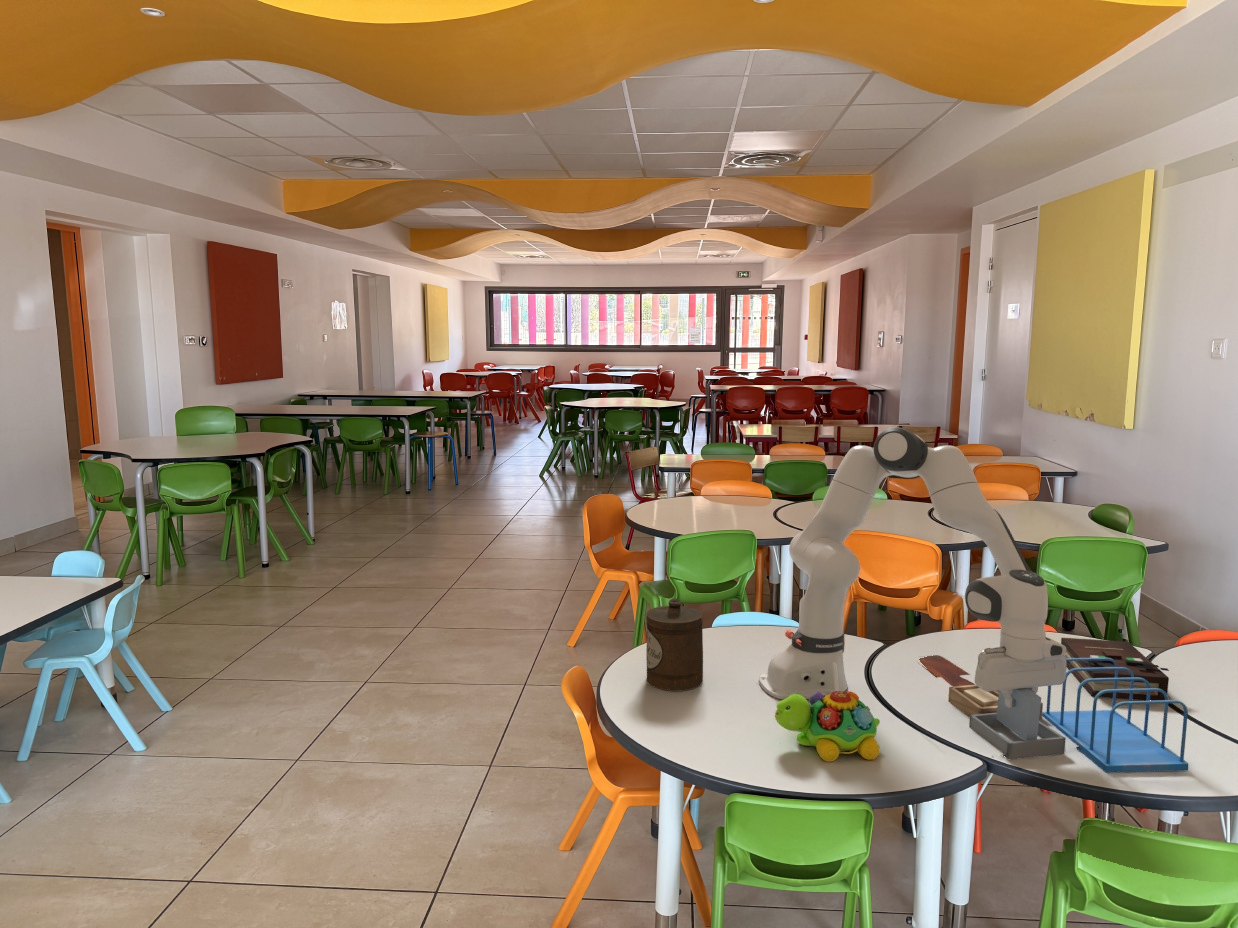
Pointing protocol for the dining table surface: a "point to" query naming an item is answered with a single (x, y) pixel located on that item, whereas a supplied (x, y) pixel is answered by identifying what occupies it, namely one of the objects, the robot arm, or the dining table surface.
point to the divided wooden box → (970, 706)
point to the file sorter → (1117, 729)
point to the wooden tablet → (945, 670)
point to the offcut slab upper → (981, 697)
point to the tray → (1018, 749)
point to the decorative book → (1123, 657)
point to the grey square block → (1021, 713)
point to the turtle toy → (831, 723)
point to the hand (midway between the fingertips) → (1018, 705)
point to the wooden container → (674, 647)
